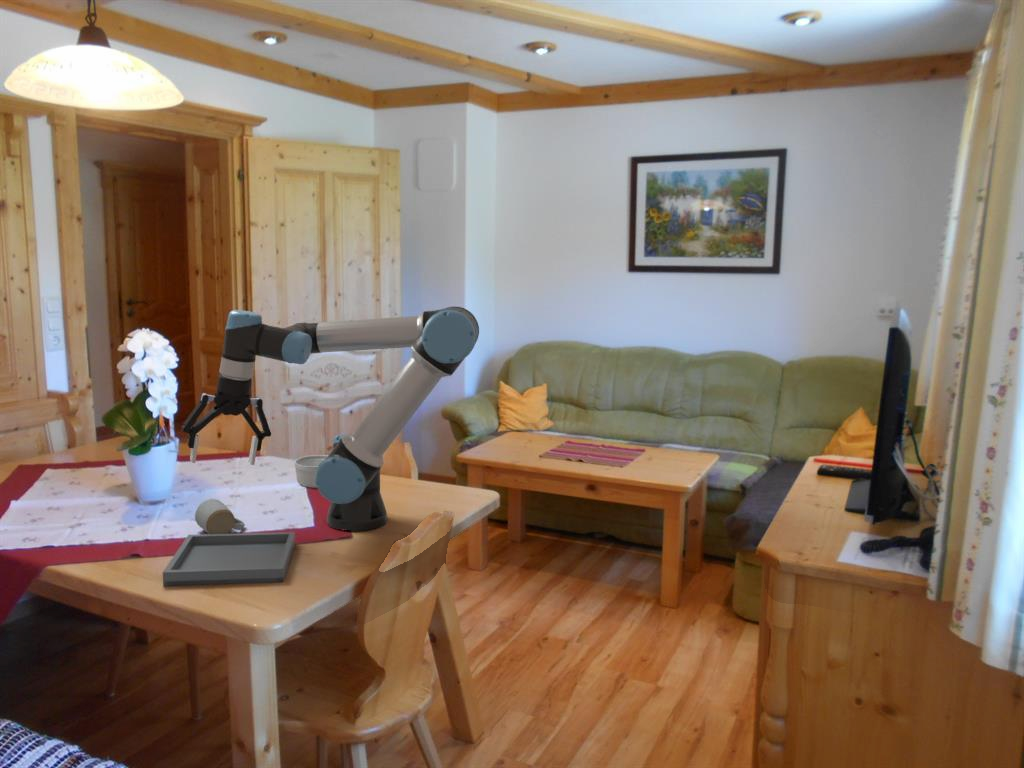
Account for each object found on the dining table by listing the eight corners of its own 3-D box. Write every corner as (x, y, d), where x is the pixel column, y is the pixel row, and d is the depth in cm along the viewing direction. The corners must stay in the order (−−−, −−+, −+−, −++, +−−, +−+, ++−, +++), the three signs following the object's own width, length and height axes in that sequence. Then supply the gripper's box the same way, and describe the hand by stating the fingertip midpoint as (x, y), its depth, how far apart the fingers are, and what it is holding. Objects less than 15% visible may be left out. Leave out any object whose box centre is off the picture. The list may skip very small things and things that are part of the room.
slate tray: (295, 544, 189) (294, 532, 189) (283, 582, 168) (283, 568, 167) (188, 547, 185) (188, 534, 185) (163, 586, 164) (162, 572, 164)
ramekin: (316, 492, 230) (315, 468, 229) (284, 483, 237) (284, 461, 236) (349, 481, 241) (348, 459, 240) (318, 474, 248) (318, 452, 247)
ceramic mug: (206, 541, 190) (206, 510, 188) (194, 531, 196) (194, 501, 194) (250, 532, 196) (250, 502, 195) (237, 523, 203) (237, 494, 201)
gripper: (284, 377, 197) (270, 458, 200) (176, 367, 183) (164, 454, 187) (292, 384, 191) (278, 468, 194) (182, 375, 177) (169, 465, 181)
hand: (222, 462), depth 190 cm, fingers open, 13 cm apart
